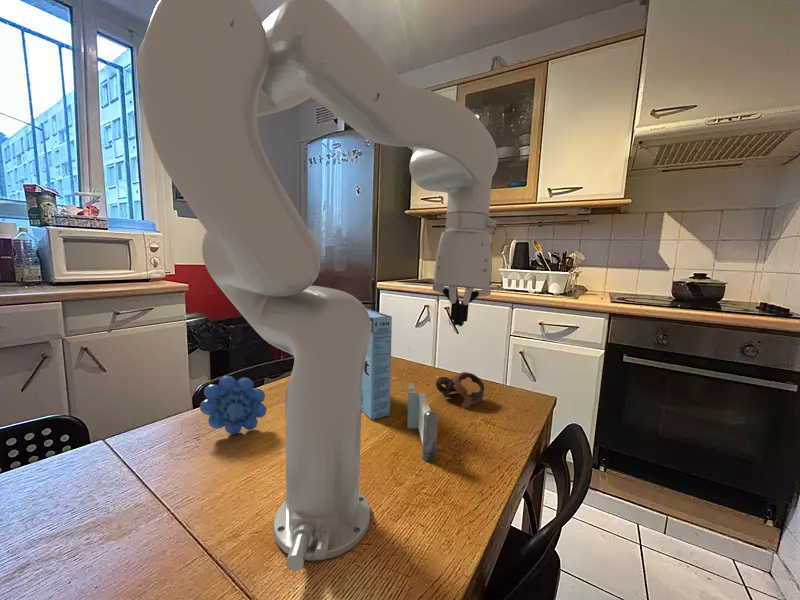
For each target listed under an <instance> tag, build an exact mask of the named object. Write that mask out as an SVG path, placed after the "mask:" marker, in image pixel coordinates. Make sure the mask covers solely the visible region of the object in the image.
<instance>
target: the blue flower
mask: <svg viewBox="0 0 800 600" xmlns="http://www.w3.org/2000/svg"><path fill="white" fill-rule="evenodd" d="M203 393H204V396H205V398H207V399H204V400H203V401H202V402H200V405H199V410H200V412H201V413H202V414H203V415H206V416H209V417H208V420H207V422H208V425H209V426H210V427H211V428H213V429H214V430H218V429H222V428H224V429H225V432H227V434H230V435H236V434H239V433H240V432H241V431H242V428H244V429H245V430H247V431H251V430H254V429H255V428H257V425H258V418H263V417H264V416H265V415H266V414H267V410H268V409H267V406H266V405H265V404H264V403H262V402H264V401H265V398H266V393H265V391H264V390H262V389H261V388H258V387H256V388H255V387H254V382H253V381H252V380H251V379H250V377H249V378H248V377H241V378H239V379H238V380H236V378H234V377H233V376H231V375H230V376H229V375H224V376H222V377H221V378H219V381H218V384H209V385H207V386H205V388H204V391H203Z"/></svg>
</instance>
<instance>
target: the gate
mask: <svg viewBox="0 0 800 600" xmlns="http://www.w3.org/2000/svg"><path fill="white" fill-rule="evenodd" d="M417 393H418V396H419V400H418V421H417V429H418V432H419V436H420V441H421V444H422V446H423V430H424V414H425V413H426V412H427V411H432V410H431V408H430V405H429V402H428V399H427V396H426V394H425V392H417Z"/></svg>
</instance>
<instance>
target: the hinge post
mask: <svg viewBox="0 0 800 600" xmlns="http://www.w3.org/2000/svg"><path fill="white" fill-rule="evenodd" d="M438 422H439V415H438V413H437V412H435V410H431V411H427V412H426V413H425V414H424V430H423V445H422V450H421V451H422V454H421V456H422V457H421V459H422V461H424V462H427V463H433V462H435V461H436V456H437V455H436V454H437V438H438V437H437V435H438Z"/></svg>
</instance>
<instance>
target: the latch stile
mask: <svg viewBox="0 0 800 600" xmlns="http://www.w3.org/2000/svg"><path fill="white" fill-rule="evenodd" d="M418 393H419V392H415V393H409V395H408V394H407V404H408V409H407V422H406V425H407V427H406V428H407V429H418V425H417V421H418V400H419V396H418Z"/></svg>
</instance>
